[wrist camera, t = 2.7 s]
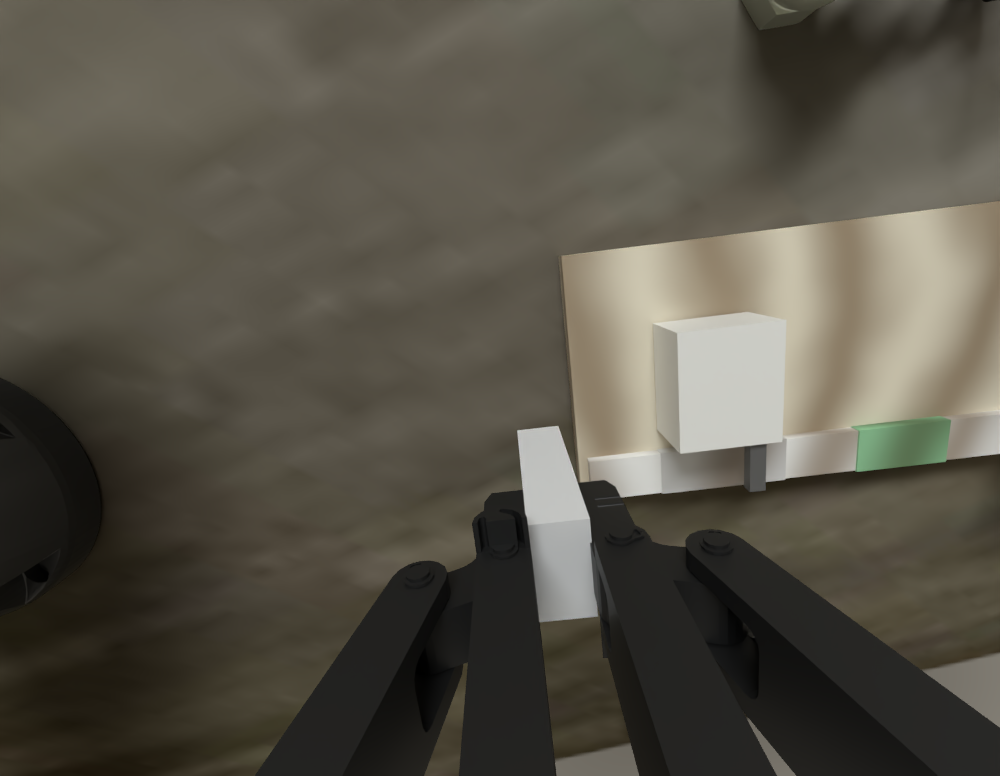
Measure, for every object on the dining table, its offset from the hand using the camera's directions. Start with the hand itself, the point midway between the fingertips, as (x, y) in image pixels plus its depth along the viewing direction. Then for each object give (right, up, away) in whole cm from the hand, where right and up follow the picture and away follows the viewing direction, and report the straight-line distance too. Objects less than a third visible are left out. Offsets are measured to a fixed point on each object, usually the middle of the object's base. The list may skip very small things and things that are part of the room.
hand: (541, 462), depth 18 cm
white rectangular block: (+10, +2, +9) cm, 13 cm away
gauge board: (+16, +5, +10) cm, 20 cm away
